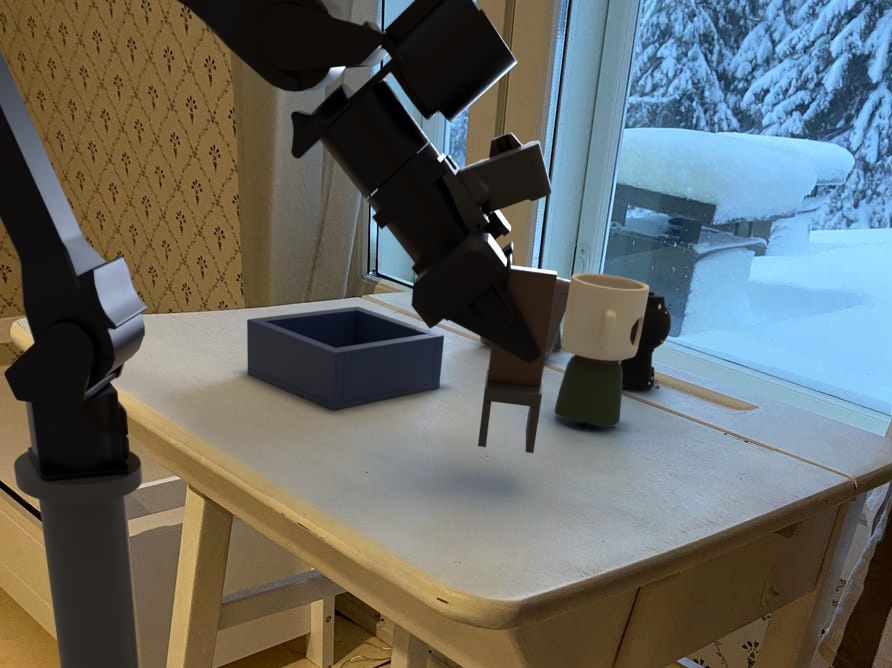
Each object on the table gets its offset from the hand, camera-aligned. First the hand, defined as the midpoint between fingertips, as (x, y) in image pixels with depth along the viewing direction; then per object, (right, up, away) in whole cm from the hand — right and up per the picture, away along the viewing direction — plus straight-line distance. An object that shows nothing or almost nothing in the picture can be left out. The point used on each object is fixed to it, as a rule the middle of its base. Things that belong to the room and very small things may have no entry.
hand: (536, 355), depth 71 cm
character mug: (+6, 0, +22) cm, 23 cm away
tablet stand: (+1, +13, +43) cm, 45 cm away
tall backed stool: (-2, -5, +3) cm, 7 cm away
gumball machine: (+12, +7, +35) cm, 37 cm away
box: (-17, +5, +24) cm, 30 cm away
